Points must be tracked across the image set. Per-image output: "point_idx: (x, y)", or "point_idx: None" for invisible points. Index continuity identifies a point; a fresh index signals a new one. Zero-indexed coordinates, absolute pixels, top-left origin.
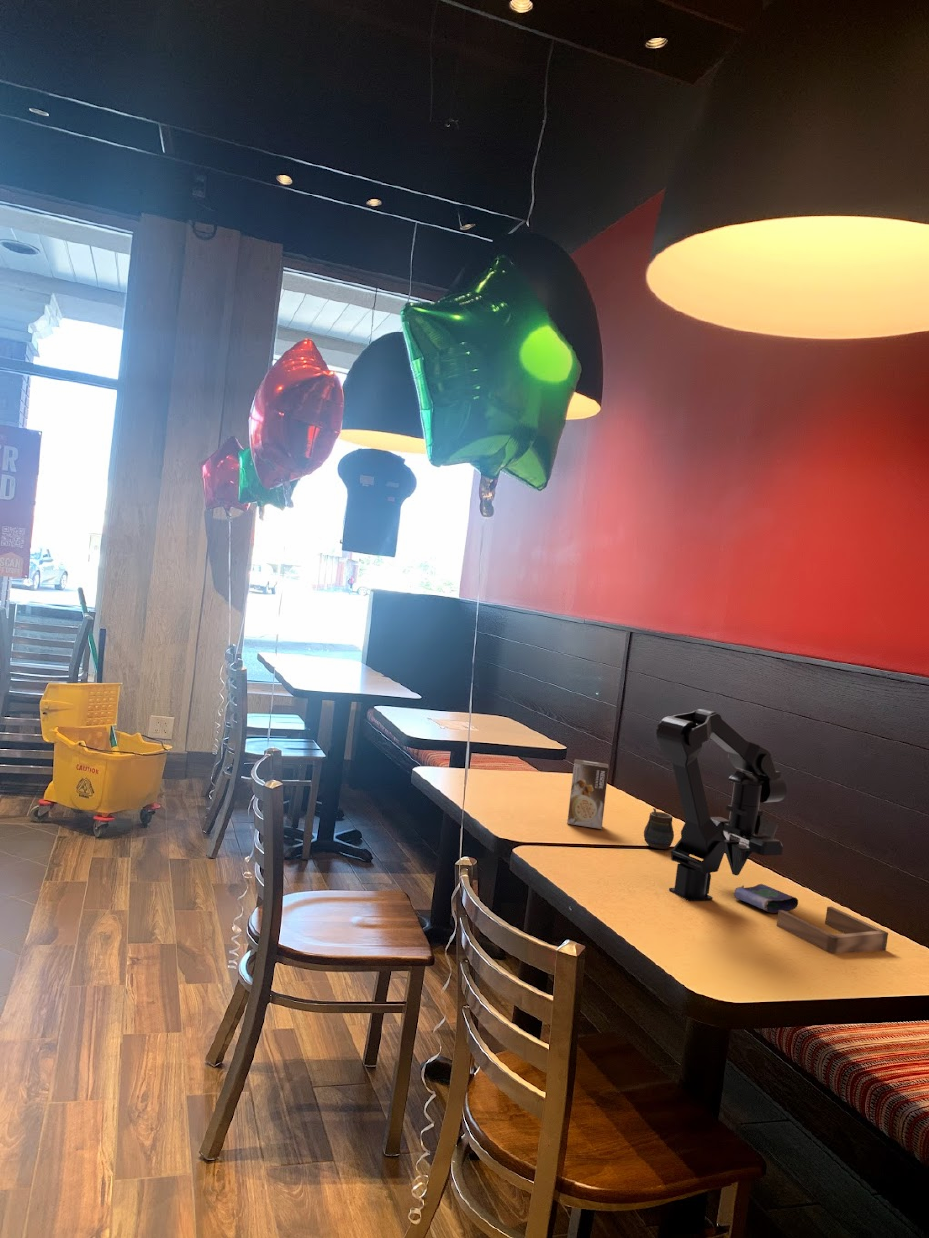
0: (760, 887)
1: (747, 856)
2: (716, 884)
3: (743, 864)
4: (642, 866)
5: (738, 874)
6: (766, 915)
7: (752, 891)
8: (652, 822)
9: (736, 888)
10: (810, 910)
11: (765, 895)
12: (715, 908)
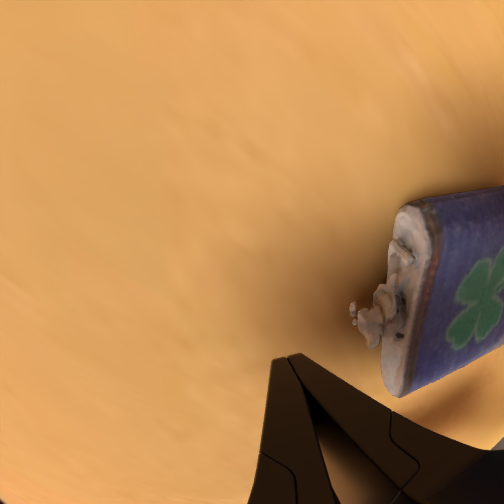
0: (447, 278)
1: (438, 451)
2: (159, 345)
3: (367, 404)
4: (38, 466)
5: (302, 357)
6: None
7: (453, 347)
8: None
9: (401, 396)
10: (486, 75)
11: (491, 309)
12: None
